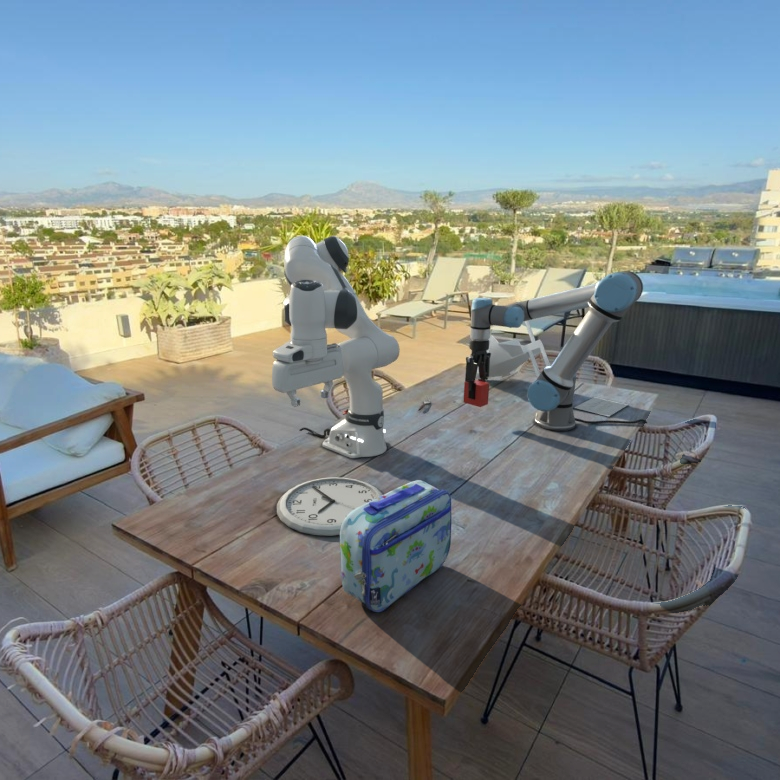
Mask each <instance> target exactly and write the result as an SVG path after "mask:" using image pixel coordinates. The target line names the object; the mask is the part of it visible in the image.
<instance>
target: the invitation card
mask: <svg viewBox="0 0 780 780" xmlns="http://www.w3.org/2000/svg"><path fill="white" fill-rule="evenodd" d="M628 406H629V404H627V403H623V402H618V401H614V400H609V399H605V398H601V397H596V396H593V397H592V398H590V399H588V400H586V401H584V402H582V403H580V404H578V405H575V406H574V407H573V409H575V410H581V411H584V412H587V413H593V414H596V415H600V416H604V417H608V418H609V417H611V416H613V415H614V414H616V413H617V412H619V411H621V410H623V409H624V408H626V407H628Z"/></svg>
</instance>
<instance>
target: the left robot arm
mask: <svg viewBox="0 0 780 780" xmlns="http://www.w3.org/2000/svg"><path fill="white" fill-rule="evenodd" d="M283 255H284V256H283V267H284V268H283V275H284V277H285V280H286V282H287V284H288V285H289V286H290V291H289V294H288V295H287V296H286V297H285V298H284V300H283V306H284V322H285V323H286V324H288V326H290V327H291V331H290V335H289V336H290V340H288V341H286V342H285V343H283V344H282V345H280V346H278V347H277V348H275V349H274V350H273V351H272V356H273V359H275V360H274V362H273V363H272V367H271V384H272V388H273V389H274V390H275V391H276V392H279V393H281V394H285V393H286V395H287V396H288V398H289V399H290V406H291V407H293V408H297V407H299V406H301V399H300V398H298V397H296V394H297V390H302V389H304V388H305V389H306V388H308V387H312V386H316V385H320V384H324V385H323V388H322V390H320V398H321V399H328V398H330V391H331V390H332V387H333V384H334V381H335V380H336V381H337V380H339V379H342V378H344V379H345V381H346V384H347V387H348V397H349V407H348V408H346V409H345V410H344V411H343V412H342V415H343V416H344V415H345V417H344V418H343V419H342V420H340V421H338V422H337V423H335V424H333V425H331V426H329V427H327V428H325V429H324V430H323V434H320V433H317V432H316V431H314V430H312V429H311V428H308V427H306V426H305V427H301V428H300V429H299V432H302V431H307V432H309V433H311V434H313V435H314V436H316V437H318V438H325V437H326V436H328V437H327V438H325V440H323V441H322V444H321V446H322V447H323V449H327V450H330V451H332V452H334V453H336V454H339V455H341V456H344V457H347V458H349V459H358V458H368V457H369V458H370V457H377V456H380V455H382V454H384V453H385V452H386V451H387V450H388V447H387V444H386V439H385V433H386V429H384V424H385V410H384V408H383V406H384V405H383V403H384V401H383V400H384V390H383V387H382V385H381V384H380V383H379V382H377V381H376V380H374V379H373V375H372V370H376V369H380V368H384V367H387V366H389V365H391V364H393V363H394V362H396V361H398V359H399V356H400V352H401V350H400V344H399V342H398V340H397V338H395V337H394V335H391V334H389V333H387V332H385V331H384V330H382V329H381V328H380V327H378V325H376V323H375V322H373V321H372V319H371V318H370V317H369V315H368V314H367V312H366V311H365V309H364V307H363V305H362V303H361V302H360V300H359V297H358V295H357V294H356V291H355V290H354V288H353V287H352V285H351V283H350V282H349V280H348V279H347V277H346V276H345V275H344V274H346V273H347V272H348V266H349V263H350V255H349V250H348V247H347V246H346V244H345V243H344V242H343V241H342V240H341V239H340V238H339V237H338V236H335V235H331V236H328V237H325V238H324V239H323V240H320V241H319V242H317V243H316V242H315V241H314V240H313V239H312V238H310V237H308V236H306V235H298V236H295V237H293V238H291V240H290V241H289V242H288V243H287V245H286V247H285V251H284V254H283ZM342 272H343V273H344V274H343V273H342ZM326 329H335V330H336V331H337V332H339V333H340V334H342V335H345V336H347V337H348V338H349V339H346V340H343V341H341V342H339V343H337V342H334V343H331V344H328V334H327V331H326Z"/></svg>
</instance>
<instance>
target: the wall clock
mask: <svg viewBox="0 0 780 780" xmlns="http://www.w3.org/2000/svg"><path fill="white" fill-rule="evenodd" d="M384 494H385V493H383V492H382V491H381V490H380V489H379V488H377V487H376V486H374V485H372V484H371V483H369V482H365V481H362V480H359V479H355V478H349V477H338V476H337V477H335V476H333V477H332V476H331V477H322V478H317V479H312V480H307V481H305V482H302V483H299V484H297V485H295V486H293V487H292V488H290V489H288V490H287V491H286V492H285V493H284V494H283V495H281V496H280V498H279V499H278V502H277V503H276V515H277V517H278V518H279V520H280V521H281V522H282V523H283V524H285V525H286V526H287V527H288V528H290V529H293V530H295V531H297V532H299V533H303V534H308V535H312V536H327V537H328V536H329V537H331V536H332V537H333V536H340V530H341V526H342V523H343V521H344V519H345V518H346V516H347V515H348V514H349V513H350V512H351V511H353V510H354V509H356V508H358V507H360V506H362V505H364V504H366V503H368V502H370V501H372V500H374V499H376V498H378V497H380V496H382V495H384Z"/></svg>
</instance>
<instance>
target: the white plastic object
mask: <svg viewBox="0 0 780 780" xmlns="http://www.w3.org/2000/svg"><path fill="white" fill-rule="evenodd" d="M524 324H525V327H526V330H527V333H528V336H529V339H530V343H526V344H524V345H523V344H522V343H521V342H520V341H519V338H514V339H511V340H506V341H501V342H500V341H499V340H497V338H496V337H495V336H494V335H493V334H490V339H488V340H489V349H488V350H486V351H487V352H488V353H491V356H490V366H489V377H487V378H488V379H489V378H496V377H501V378H505V377H509V376H511V373H512V372H513V371H514V370H516V369H517V368H519V367H520V366H522V365H523V364H525V363H526V362H528V361H529V360H530V361H531V364H532V368H533V371H534V374H535V376H536V379H537V378H538V377H539V375H540V374H541V372H540V369H539V366H538V363H537V359H536V357H535V356H538V355H540V354H541V356H542V358H543V361H544V364H545V367H547V366H551V363H550V361H549V358H548V355H547V352H546V349H545V346H544V344H543V341H542V340H541V339H537V340H536V338H535V335H534V332H533V329H532V326H531V323H530V320H527V321H524ZM475 364H477V363H475ZM478 379H481V378H480V376H479V368H478V369H477V374H476V378H475V380H478Z"/></svg>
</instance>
